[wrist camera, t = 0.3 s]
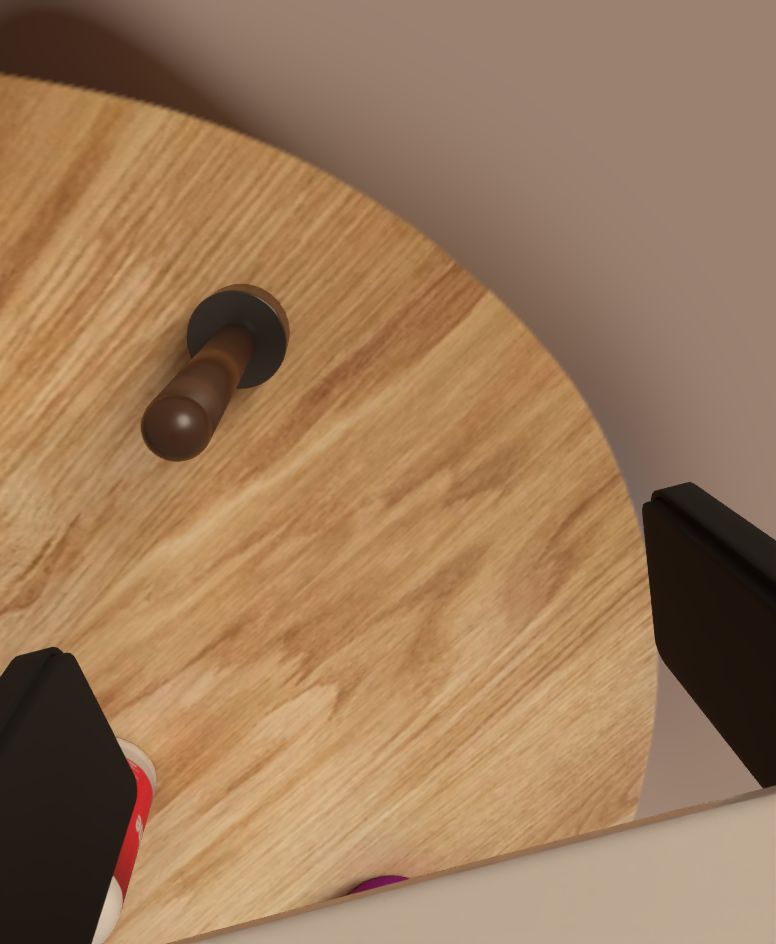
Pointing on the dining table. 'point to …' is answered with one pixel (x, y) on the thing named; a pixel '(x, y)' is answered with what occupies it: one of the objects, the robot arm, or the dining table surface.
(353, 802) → the dining table surface
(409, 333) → the dining table surface
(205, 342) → the brown pestle
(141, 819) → the pill bottle
